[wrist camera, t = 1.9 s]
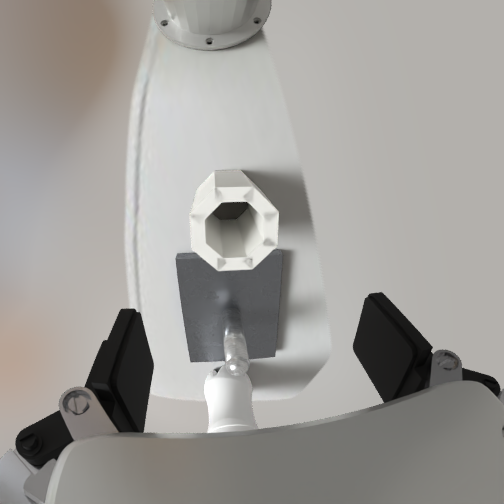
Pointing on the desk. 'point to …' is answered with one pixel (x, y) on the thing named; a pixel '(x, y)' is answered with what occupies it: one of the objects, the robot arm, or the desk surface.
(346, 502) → the robot arm
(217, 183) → the white hollow octagonal tube
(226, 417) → the water bottle
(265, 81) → the desk surface
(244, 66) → the desk surface
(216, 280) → the roll holder
